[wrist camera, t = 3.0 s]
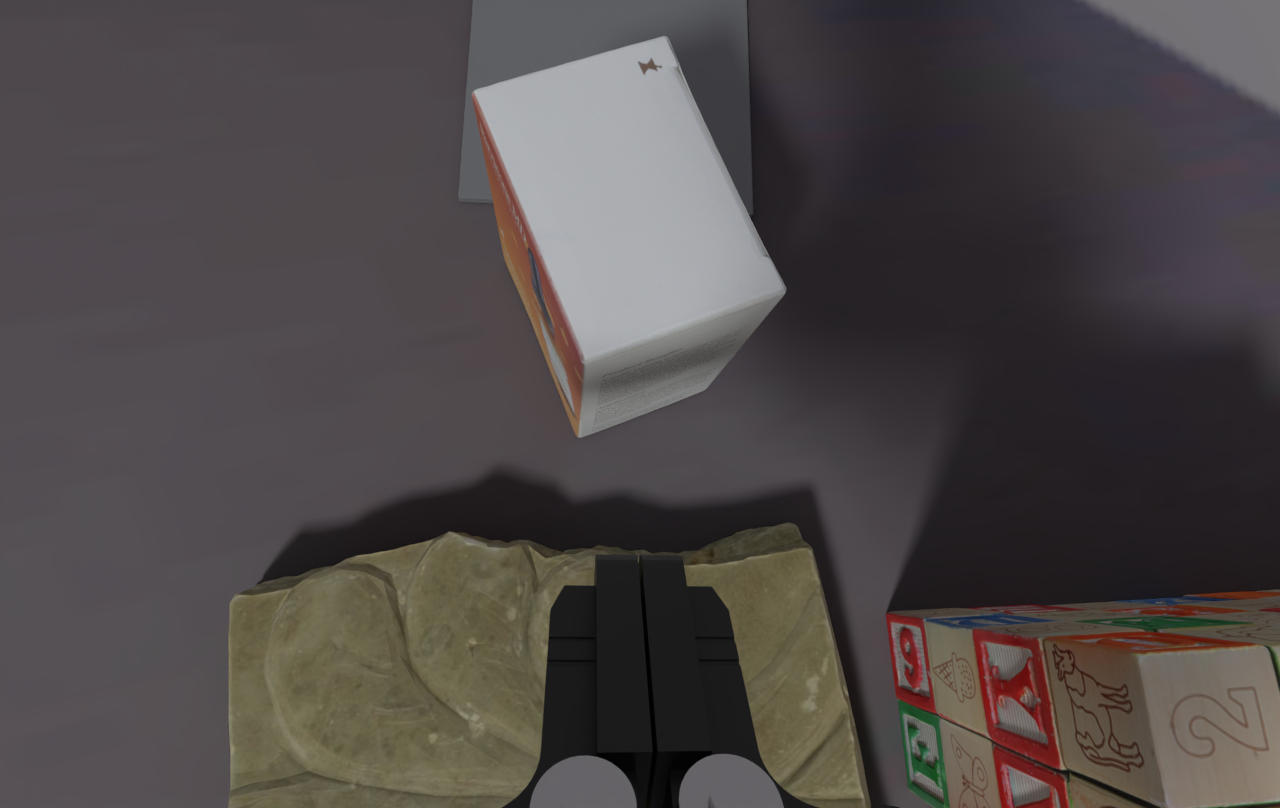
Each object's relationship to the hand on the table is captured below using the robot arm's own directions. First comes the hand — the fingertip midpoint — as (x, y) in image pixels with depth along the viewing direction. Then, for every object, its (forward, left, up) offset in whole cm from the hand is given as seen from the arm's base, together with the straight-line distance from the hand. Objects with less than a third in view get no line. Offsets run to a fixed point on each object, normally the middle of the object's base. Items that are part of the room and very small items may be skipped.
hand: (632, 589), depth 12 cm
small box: (0, +10, -14) cm, 17 cm away
